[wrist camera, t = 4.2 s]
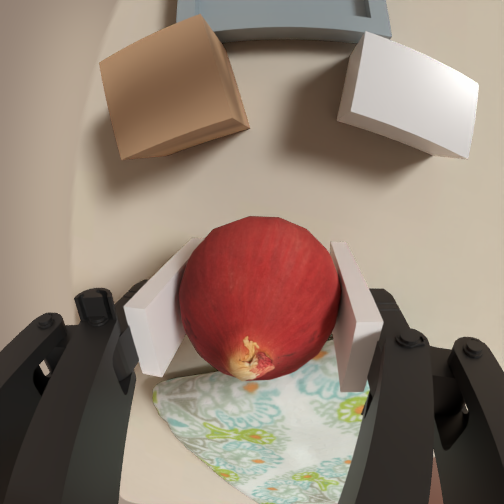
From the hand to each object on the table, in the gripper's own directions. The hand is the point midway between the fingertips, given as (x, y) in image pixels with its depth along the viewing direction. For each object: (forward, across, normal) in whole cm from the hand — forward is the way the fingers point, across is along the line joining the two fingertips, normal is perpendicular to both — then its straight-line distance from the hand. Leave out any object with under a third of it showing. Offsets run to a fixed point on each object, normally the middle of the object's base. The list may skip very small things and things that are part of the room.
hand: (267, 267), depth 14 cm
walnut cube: (+3, -4, +8) cm, 10 cm away
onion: (+1, 0, 0) cm, 1 cm away
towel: (+3, +4, -17) cm, 17 cm away
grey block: (+3, +7, +8) cm, 11 cm away
